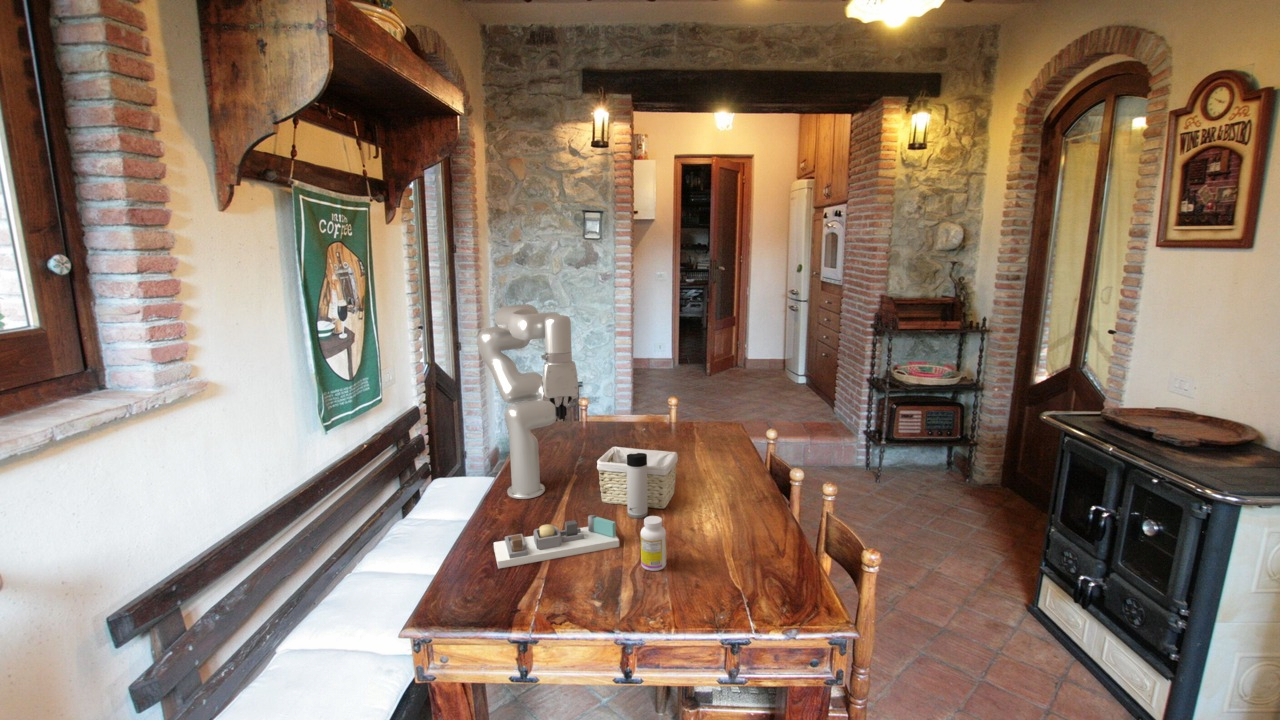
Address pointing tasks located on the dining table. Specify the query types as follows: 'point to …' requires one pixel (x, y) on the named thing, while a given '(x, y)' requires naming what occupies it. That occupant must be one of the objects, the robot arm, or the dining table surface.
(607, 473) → the storage basket
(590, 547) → the board
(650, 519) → the supplement bottle
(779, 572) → the dining table surface
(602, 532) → the teal lever handle
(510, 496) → the robot arm
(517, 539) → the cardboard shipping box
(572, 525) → the grey rectangular block
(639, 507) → the travel mug
